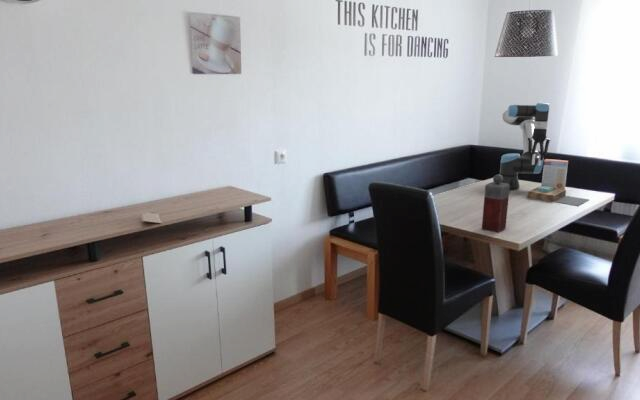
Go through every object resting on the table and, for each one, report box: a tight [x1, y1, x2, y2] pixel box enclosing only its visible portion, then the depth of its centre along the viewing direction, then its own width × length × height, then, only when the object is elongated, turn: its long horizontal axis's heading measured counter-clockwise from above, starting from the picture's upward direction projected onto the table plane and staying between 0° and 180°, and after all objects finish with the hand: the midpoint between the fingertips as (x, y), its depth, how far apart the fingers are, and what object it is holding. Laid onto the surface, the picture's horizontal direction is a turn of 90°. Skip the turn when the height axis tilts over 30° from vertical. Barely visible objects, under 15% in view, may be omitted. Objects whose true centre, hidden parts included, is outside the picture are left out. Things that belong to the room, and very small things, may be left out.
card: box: [538, 186, 553, 192], centre depth 303 cm, size 6×9×2 cm, turn 135°
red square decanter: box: [481, 173, 510, 234], centre depth 239 cm, size 9×11×28 cm
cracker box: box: [540, 158, 569, 190], centre depth 316 cm, size 14×6×21 cm, turn 58°
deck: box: [527, 186, 567, 203], centre depth 303 cm, size 16×20×4 cm
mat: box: [553, 195, 590, 207], centre depth 294 cm, size 14×20×1 cm
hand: (536, 164), depth 305 cm, fingers open, 3 cm apart
